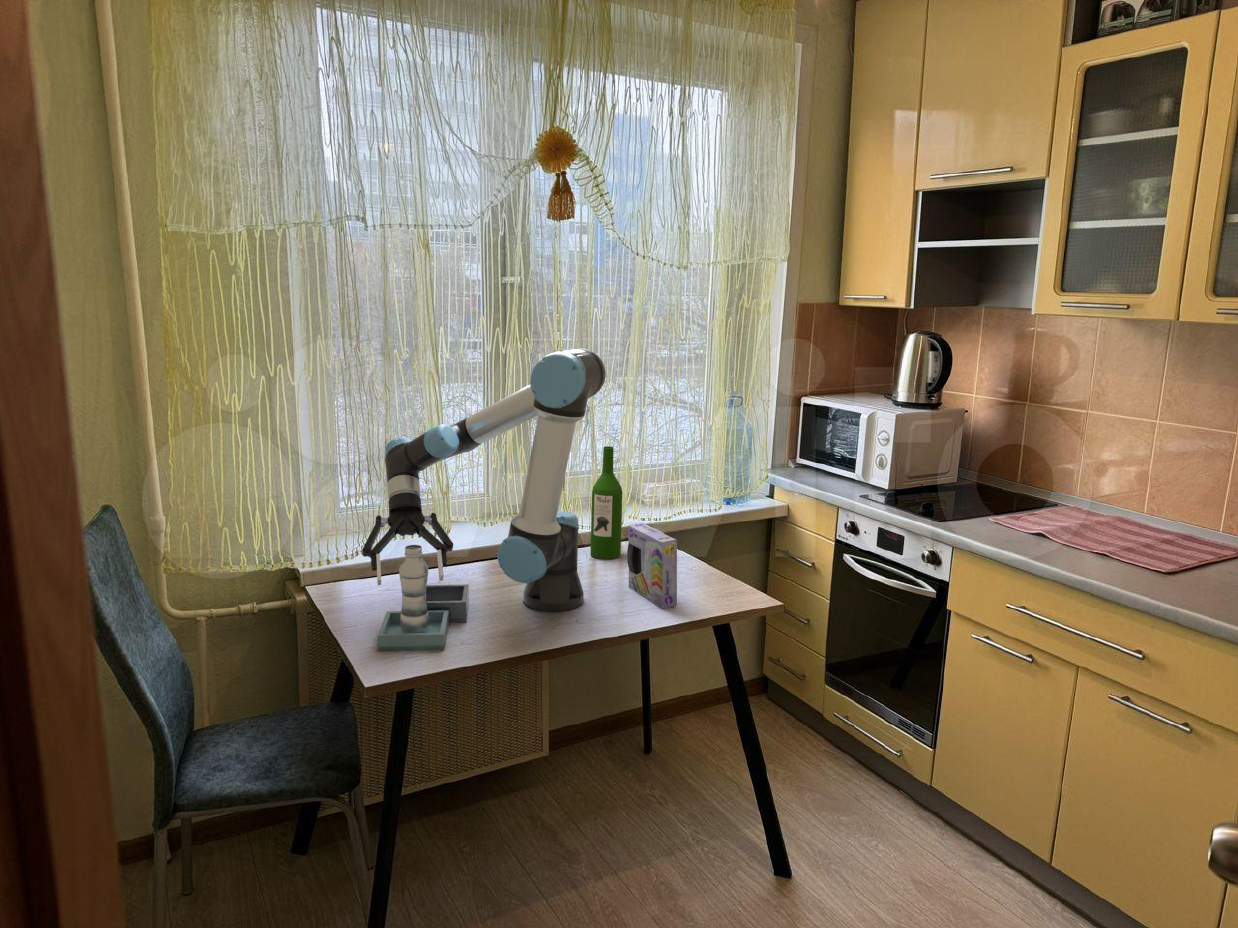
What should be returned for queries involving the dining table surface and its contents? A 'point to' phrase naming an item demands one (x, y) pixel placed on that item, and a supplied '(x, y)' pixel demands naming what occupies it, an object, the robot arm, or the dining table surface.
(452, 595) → the holder sleeve
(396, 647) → the tray
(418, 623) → the metal bottle
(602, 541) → the wine bottle
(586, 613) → the dining table surface
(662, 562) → the purple product box
